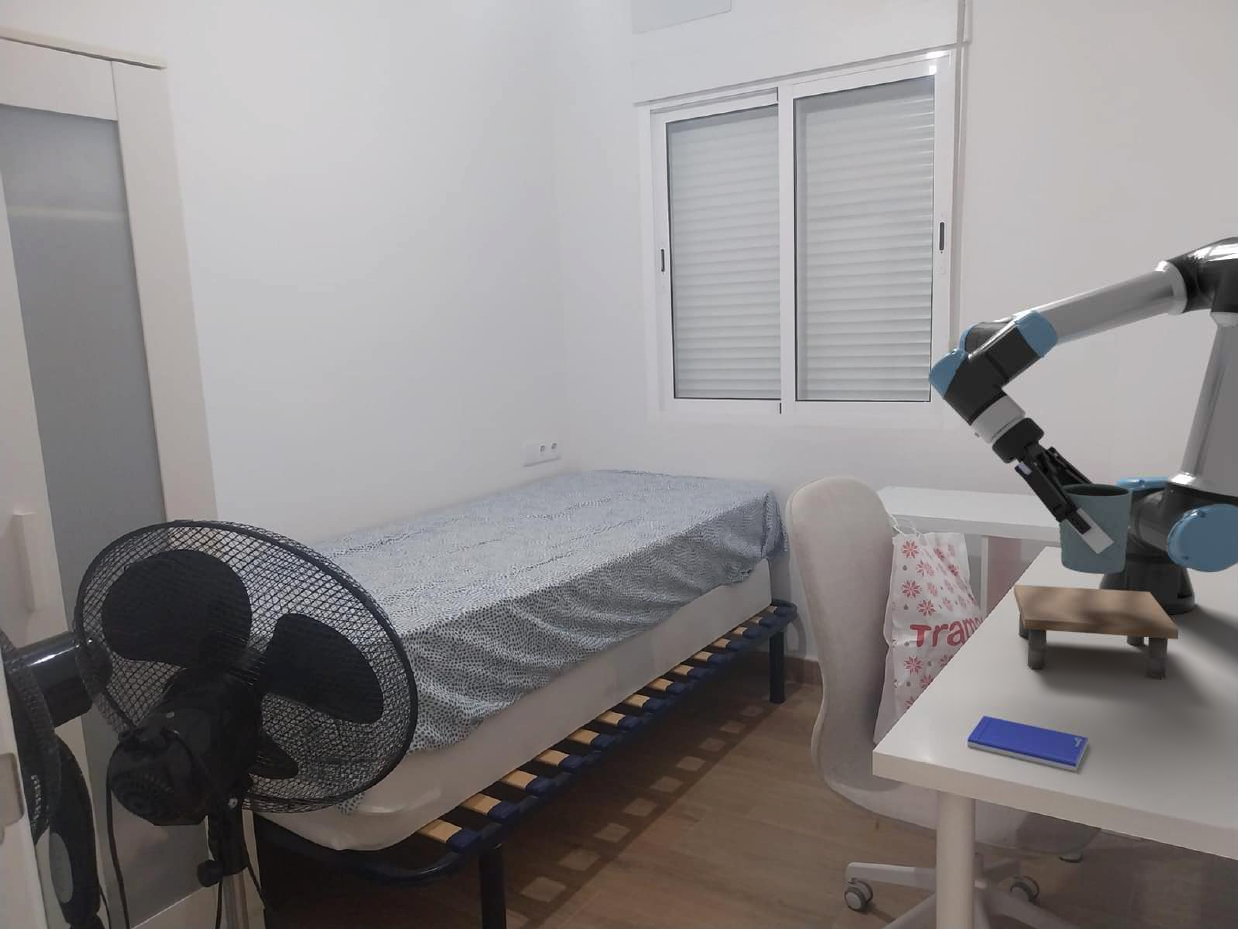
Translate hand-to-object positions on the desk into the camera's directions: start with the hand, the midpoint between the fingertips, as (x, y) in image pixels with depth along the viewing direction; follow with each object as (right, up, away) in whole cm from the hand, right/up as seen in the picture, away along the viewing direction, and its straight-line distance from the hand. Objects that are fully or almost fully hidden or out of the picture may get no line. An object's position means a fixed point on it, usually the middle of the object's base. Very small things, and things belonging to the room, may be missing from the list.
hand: (1114, 540), depth 137 cm
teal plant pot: (-2, -4, +3) cm, 6 cm away
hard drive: (-23, -24, -23) cm, 41 cm away
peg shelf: (-1, -18, +5) cm, 19 cm away
